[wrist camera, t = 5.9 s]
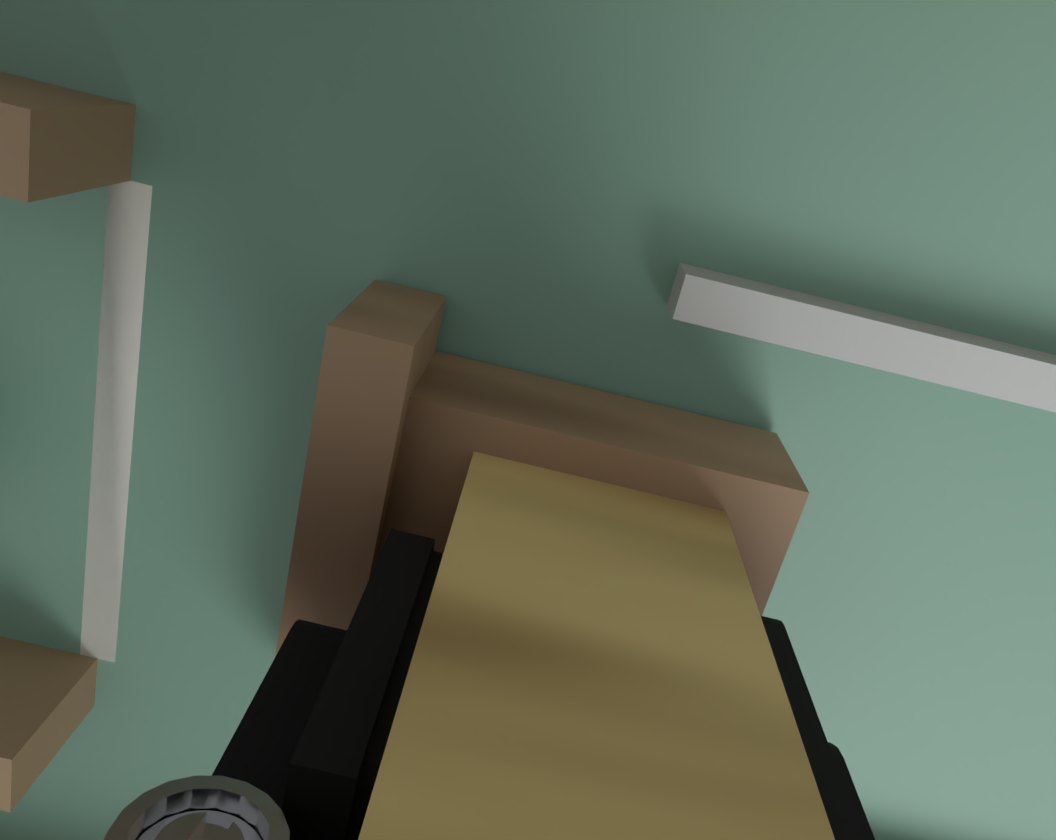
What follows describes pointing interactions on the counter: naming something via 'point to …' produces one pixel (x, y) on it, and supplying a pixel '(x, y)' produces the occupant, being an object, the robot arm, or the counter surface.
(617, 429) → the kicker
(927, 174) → the pitch
